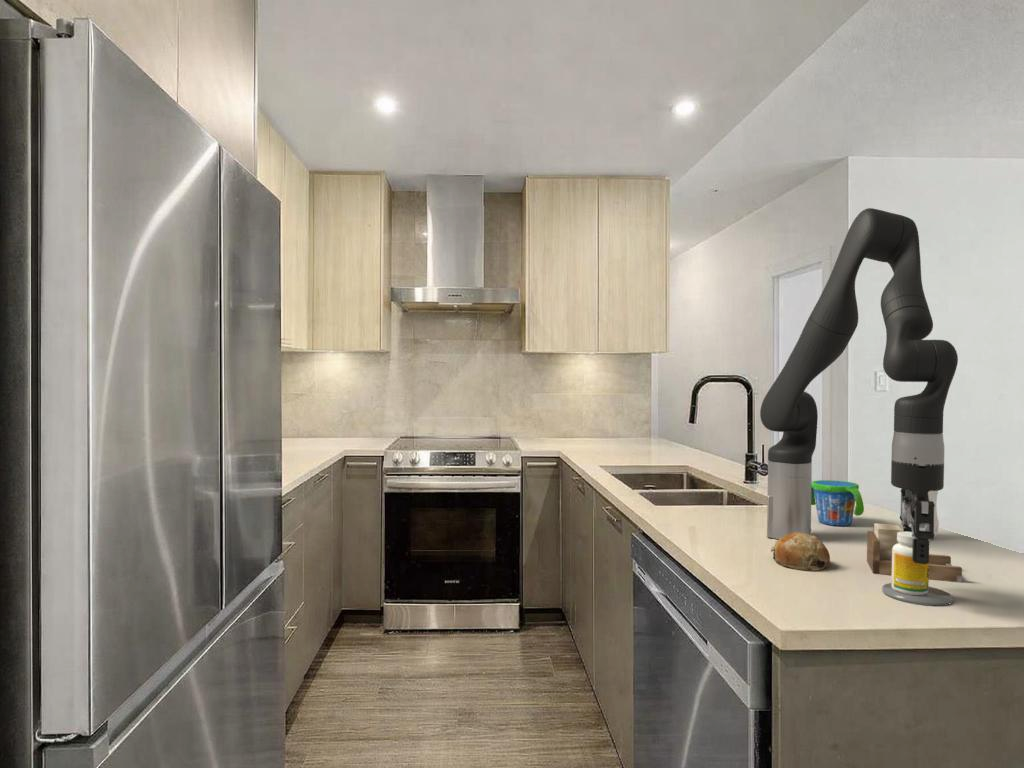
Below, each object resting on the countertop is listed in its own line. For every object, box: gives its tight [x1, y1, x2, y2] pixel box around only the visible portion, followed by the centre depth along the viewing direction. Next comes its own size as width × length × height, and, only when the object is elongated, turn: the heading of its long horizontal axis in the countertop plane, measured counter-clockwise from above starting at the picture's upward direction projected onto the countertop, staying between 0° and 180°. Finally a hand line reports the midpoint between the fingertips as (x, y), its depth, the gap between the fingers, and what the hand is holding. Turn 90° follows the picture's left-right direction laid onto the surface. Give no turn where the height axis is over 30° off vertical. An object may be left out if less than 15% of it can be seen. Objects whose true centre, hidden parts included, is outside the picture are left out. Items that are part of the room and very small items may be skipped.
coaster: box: [881, 582, 953, 606], centre depth 111 cm, size 10×10×1 cm
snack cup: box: [811, 479, 865, 527], centre depth 166 cm, size 16×10×10 cm
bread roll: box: [770, 532, 831, 572], centre depth 130 cm, size 10×10×8 cm
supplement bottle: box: [890, 532, 930, 596], centre depth 112 cm, size 5×5×10 cm
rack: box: [866, 523, 963, 583], centre depth 125 cm, size 14×9×8 cm, turn 69°
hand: (915, 556), depth 111 cm, fingers open, 8 cm apart
